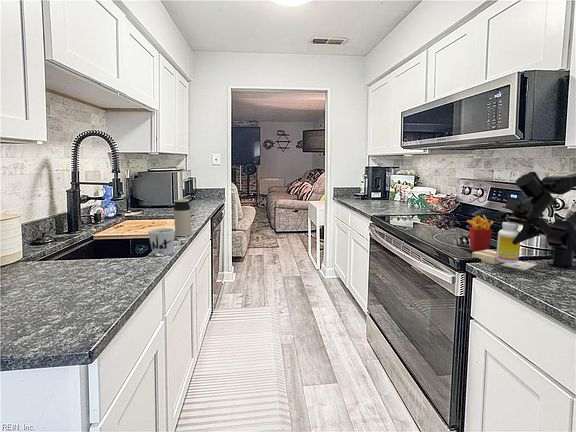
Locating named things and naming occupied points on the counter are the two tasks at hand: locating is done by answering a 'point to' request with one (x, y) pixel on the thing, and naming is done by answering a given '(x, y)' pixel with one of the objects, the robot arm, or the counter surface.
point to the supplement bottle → (508, 243)
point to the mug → (162, 240)
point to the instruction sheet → (520, 265)
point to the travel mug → (182, 217)
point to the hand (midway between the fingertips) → (505, 241)
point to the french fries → (480, 234)
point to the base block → (486, 256)
